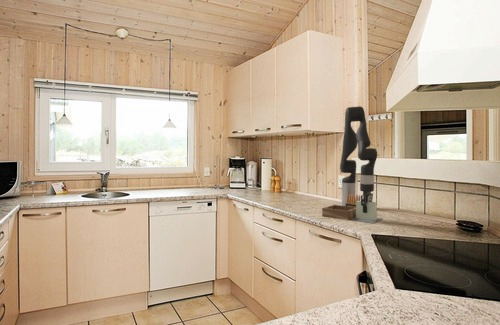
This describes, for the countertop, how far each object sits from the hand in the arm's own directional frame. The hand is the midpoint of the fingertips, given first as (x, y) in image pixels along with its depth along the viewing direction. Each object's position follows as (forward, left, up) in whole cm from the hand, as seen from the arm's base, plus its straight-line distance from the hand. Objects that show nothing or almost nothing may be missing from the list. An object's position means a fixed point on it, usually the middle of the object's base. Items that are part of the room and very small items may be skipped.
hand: (366, 212), depth 188 cm
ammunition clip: (-18, -15, -5) cm, 24 cm away
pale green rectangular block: (0, 0, -4) cm, 4 cm away
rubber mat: (0, 0, -4) cm, 4 cm away
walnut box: (0, -16, -4) cm, 17 cm away
